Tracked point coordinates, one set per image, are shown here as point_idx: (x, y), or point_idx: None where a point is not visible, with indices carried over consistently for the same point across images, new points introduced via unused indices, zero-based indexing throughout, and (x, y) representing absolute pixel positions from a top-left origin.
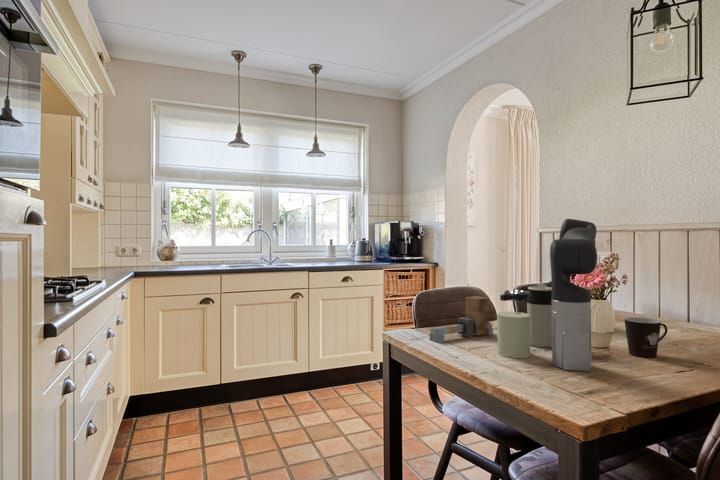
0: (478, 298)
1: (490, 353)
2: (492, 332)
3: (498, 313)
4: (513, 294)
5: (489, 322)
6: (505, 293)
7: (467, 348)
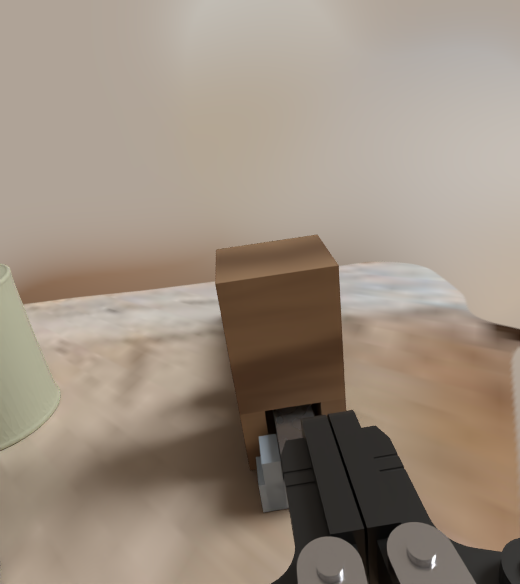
0: (234, 255)
1: (66, 369)
2: (261, 500)
3: (2, 268)
4: (299, 579)
5: (280, 454)
6: (510, 555)
7: (149, 345)
